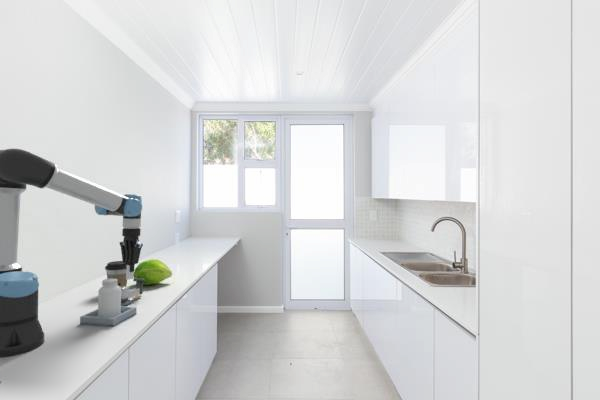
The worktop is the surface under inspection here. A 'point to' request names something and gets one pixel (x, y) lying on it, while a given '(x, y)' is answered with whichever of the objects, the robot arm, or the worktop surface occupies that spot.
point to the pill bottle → (109, 299)
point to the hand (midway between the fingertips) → (129, 278)
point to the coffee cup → (117, 272)
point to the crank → (132, 290)
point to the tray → (103, 321)
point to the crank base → (129, 301)
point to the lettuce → (152, 271)
